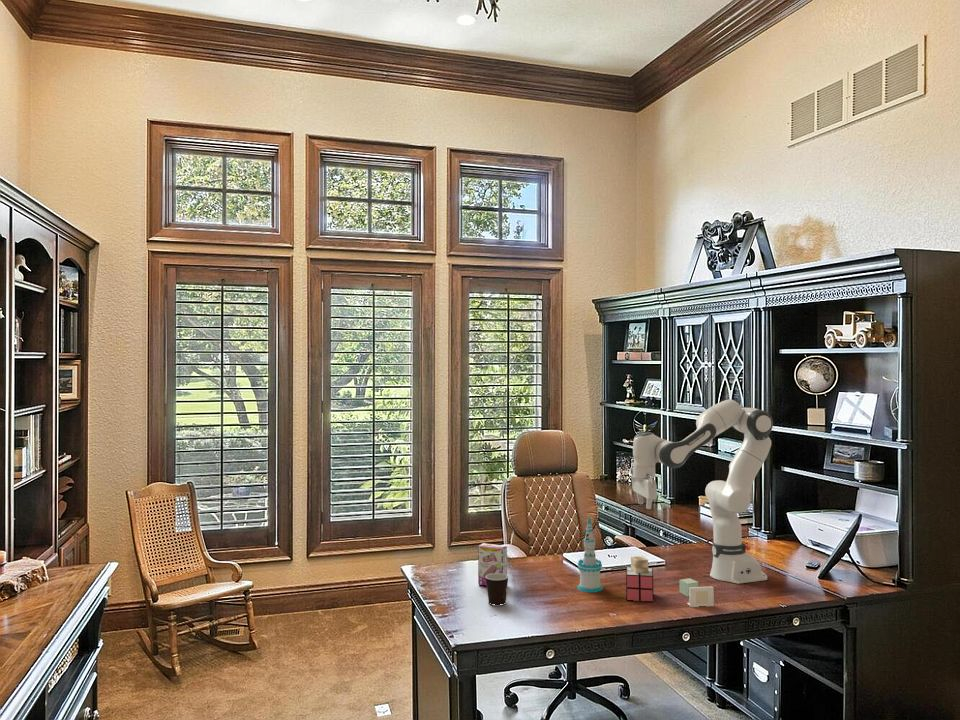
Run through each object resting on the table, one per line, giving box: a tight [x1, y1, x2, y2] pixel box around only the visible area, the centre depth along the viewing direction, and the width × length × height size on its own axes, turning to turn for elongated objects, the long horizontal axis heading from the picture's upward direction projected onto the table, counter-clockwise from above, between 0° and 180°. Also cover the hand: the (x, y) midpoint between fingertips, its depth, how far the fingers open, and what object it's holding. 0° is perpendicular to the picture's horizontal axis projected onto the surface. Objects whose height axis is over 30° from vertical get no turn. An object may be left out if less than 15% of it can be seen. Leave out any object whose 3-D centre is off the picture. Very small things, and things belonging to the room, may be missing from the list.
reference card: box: [686, 585, 715, 608], centre depth 262 cm, size 9×3×7 cm, turn 96°
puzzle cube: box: [625, 566, 655, 602], centre depth 272 cm, size 10×10×10 cm
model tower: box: [577, 513, 604, 593], centre depth 283 cm, size 10×10×30 cm
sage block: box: [678, 578, 699, 597], centre depth 275 cm, size 5×5×5 cm
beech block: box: [630, 555, 649, 574], centre depth 272 cm, size 5×5×5 cm
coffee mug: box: [486, 573, 509, 605], centre depth 269 cm, size 12×9×10 cm
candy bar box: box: [477, 542, 508, 587], centre depth 288 cm, size 11×5×16 cm, turn 65°
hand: (644, 506), depth 288 cm, fingers open, 8 cm apart
